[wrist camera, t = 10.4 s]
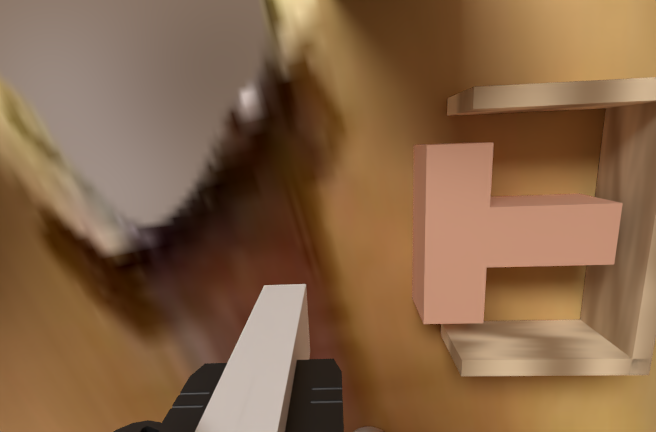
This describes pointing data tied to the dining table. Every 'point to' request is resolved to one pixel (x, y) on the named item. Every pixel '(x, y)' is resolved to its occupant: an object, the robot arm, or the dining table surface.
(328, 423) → the robot arm
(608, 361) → the bay
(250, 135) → the dining table surface
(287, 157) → the dining table surface
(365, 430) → the cylinder
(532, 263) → the t block
